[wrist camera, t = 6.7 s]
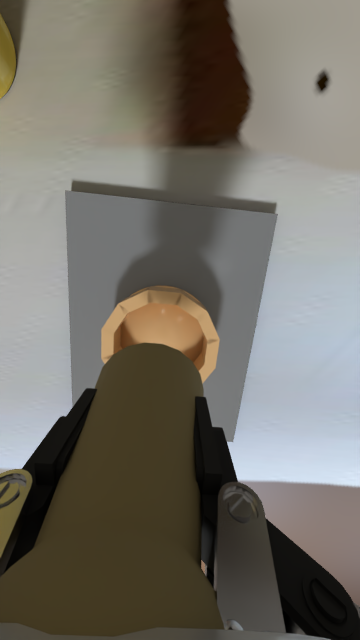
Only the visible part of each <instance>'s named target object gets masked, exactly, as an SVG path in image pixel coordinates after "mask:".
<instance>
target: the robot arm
mask: <svg viewBox="0 0 360 640" xmlns="http://www.w3.org/2000/svg"><path fill="white" fill-rule="evenodd" d="M96 391H97V389H94V388H86V389H85V390H84V392H83V393H82V395H81V396H80V398H79V399H78V400H77V402H76V403H75V405H74V406H73V408H72V409H71V410H70V412H69V413H68V415H67V416H66V417H65V416H62V417H60V418H59V419H58V420H57V422H56V423H55V424H54V426H53V427H52V428H51V430H50V431H49V433H48V434H47V435H46V437H45V438H44V439H43V441H42V442H41V443H40V445H39V446H38V448H37V449H36V450H35V452H34V453H33V454H32V456H31V457H30V458H29V460H28V461H27V462H26V464H25V465H24V467H23V468H22V469H14V470H9V471H6V472H4V473H1V474H0V577H1V576H2V575H3V574H4V573H5V572H6V571H7V570H8V569H9V568H10V567H11V566H12V565H13V564H15V563H16V562H17V561H18V560H20V559H21V558H22V557H23V556H25V555H26V554H27V553H28V552H30V551H31V550H32V549H33V548H34V545H35V542H36V540H37V537H38V534H39V532H40V529H41V527H42V524H43V521H44V519H45V516H46V514H47V511H48V508H49V506H50V503H51V501H52V498H53V495H54V493H55V490H56V487H57V485H58V482H59V480H60V477H61V475H62V474H63V472H64V470H65V467H66V465H67V463H68V460H69V458H70V456H71V454H72V451H73V449H74V447H75V444H76V442H77V440H78V438H79V435H80V433H81V431H82V428H83V426H84V424H85V421H86V418H87V415H88V412H89V409H90V406H91V403H92V400H93V398H94V396H95V393H96ZM195 403H196V412H195V421H194V448H195V466H196V481H197V483H198V486H199V490H200V494H201V511H202V544H201V560H202V561H203V562H204V563H205V576H206V577H207V579H208V580H209V582H210V583H211V585H212V587H213V588H214V590H215V591H216V598H217V606H218V609H219V612H220V615H221V618H222V621H223V624H224V629H225V630H219V629H192V628H164V627H157V628H152V629H147V630H143V631H138V632H133V633H129V634H124V635H119V636H115V637H107V636H76V635H50V634H47V633H45V632H42V631H39V630H36V629H33V628H30V627H27V626H24V625H21V624H18V623H0V640H360V607H359V606H358V605H356V604H355V603H353V601H352V599H351V597H350V596H349V595H348V593H347V592H346V590H345V589H344V588H343V586H342V585H341V584H340V583H339V582H338V581H337V580H336V579H335V578H334V577H333V576H332V575H331V574H330V573H329V572H328V571H326V570H325V569H324V568H322V566H321V565H319V564H318V563H317V562H316V561H315V560H313V559H312V558H311V557H310V556H309V555H308V554H307V553H306V552H304V551H303V550H302V549H301V548H300V547H299V546H297V545H296V544H295V543H294V542H293V541H292V540H290V539H289V538H288V537H287V536H286V535H285V534H283V533H282V532H281V531H280V530H279V529H278V528H276V527H275V526H274V525H273V524H272V523H271V522H269V521H268V520H267V519H266V518H265V512H264V508H263V505H262V502H261V500H260V499H259V497H258V495H257V494H256V493H255V492H254V491H253V490H252V489H251V488H249V487H248V486H247V485H244V484H242V483H240V482H238V481H237V477H236V473H235V470H234V466H233V463H232V459H231V455H230V452H229V448H228V445H227V441H226V437H225V434H224V431H223V428H222V427H212V422H211V418H210V413H209V409H208V404H207V399H206V397H200V396H196V397H195Z"/></svg>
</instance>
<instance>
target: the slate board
mask: <svg viewBox="0 0 360 640" xmlns="http://www.w3.org/2000/svg"><path fill="white" fill-rule="evenodd" d="M65 196H66V226H67V255H68V285H69V314H70V344H71V373H72V403H73V406H74V405H75V403H76V402H77V400H78V399H79V398H80V396H81V395H82V393H83V392H84V390H85V389H86V388H95V386H96V383H97V380H98V378H99V375H100V372H101V370H102V367H103V366H104V365H105V364H104V362H103V361H102V359H101V329H102V328H103V326H104V325H105V323H106V322H107V320H108V319H109V317H110V316H111V314H112V312H113V311H114V309H115V308H116V306H117V305H118V303H120V302H121V301H122V300H124V299H125V298H127V297H129V296H130V295H132V294H133V293H135V292H137V291H138V290H141V289H143V288H146V287H150V286H157V285H167V286H173V287H177V288H180V289H182V290H185V291H187V292H188V293H190V294H192V295H193V296H194V297H195V298H197V299H198V300H199V301H200V302H201V303H202V304H203V305H204V306H205V308H206V310H207V311H208V314H209V316H210V318H211V321H212V323H213V325H214V327H215V330H216V332H217V334H218V337H219V339H220V342H219V348H218V355H217V361H216V368H215V369H214V370H213V372H212V373H211V374H210V375H209V376H208V378H207V379H206V380H205V381H204V382H203V388H204V396H203V397H206V399H207V404H208V409H209V413H210V418H211V422H212V427H222V428H223V431H224V434H225V437H226V441H228V442H233V439H234V434H235V429H236V424H237V419H238V414H239V409H240V404H241V398H242V393H243V388H244V383H245V378H246V373H247V368H248V363H249V358H250V353H251V348H252V342H253V337H254V332H255V327H256V322H257V317H258V312H259V307H260V302H261V297H262V291H263V286H264V281H265V276H266V271H267V266H268V261H269V256H270V251H271V246H272V241H273V235H274V230H275V225H276V220H277V215H278V214H272V213H263V212H254V211H245V210H236V209H228V208H219V207H210V206H201V205H192V204H183V203H174V202H165V201H156V200H147V199H138V198H129V197H120V196H111V195H102V194H93V193H84V192H75V191H66V190H65Z"/></svg>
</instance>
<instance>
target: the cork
mask: <svg viewBox="0 0 360 640" xmlns="http://www.w3.org/2000/svg"><path fill="white" fill-rule="evenodd" d="M94 389H97V391H96V393H95V396H94V398H93V400H92V403H91V406H90V409H89V412H88V415H87V418H86V421H85V424H84V426H83V428H82V431H81V433H80V435H79V438H78V440H77V442H76V444H75V447H74V449H73V451H72V454H71V456H70V458H69V460H68V463H67V465H66V467H65V470H64V472H63V474H62V475H61V477H60V480H59V482H58V485H57V487H56V490H55V493H54V495H53V498H52V501H51V503H50V506H49V508H48V511H47V514H46V516H45V519H44V521H43V524H42V527H41V529H40V532H39V534H38V537H37V540H36V542H35V545H34V548H33V549H32V550H31V551H30V552H28V553H27V554H26V555H25V556H23V557H22V558H21V559H20V560H18V561H17V562H16V563H15V564H13V565H12V566H11V567H10V568H9V569H8V570H7V571H6V572H5V573H4V574H3V575H2V576H1V577H0V623H18V624H21V625H24V626H27V627H30V628H33V629H36V630H39V631H42V632H45V633H47V634H50V635H76V636H107V637H115V636H119V635H124V634H129V633H133V632H138V631H143V630H147V629H152V628H157V627H164V628H192V629H219V630H225V629H224V624H223V621H222V618H221V615H220V612H219V609H218V606H217V598H216V591H215V590H214V588H213V587H212V585H211V583H210V582H209V580H208V579H207V577H206V576H205V574H204V573H203V571H202V569H201V544H202V511H201V494H200V490H199V486H198V483H197V481H196V466H195V448H194V421H195V412H196V403H195V397H196V396H200V397H203V396H204V388H203V384H202V379H201V375H200V373H199V371H198V370H197V368H196V366H195V365H194V363H193V362H192V360H190V359H189V358H188V357H187V356H185V355H184V354H183V353H182V352H180V351H179V350H177V349H174V348H172V347H169V346H167V345H164V344H158V343H140V344H136V345H131V346H127V347H125V348H124V349H122V350H120V351H119V352H117V353H115V354H113V355H112V357H111V358H110V359H109V360H108V361H107V362H106V364H105V365H104V366H103V367H102V370H101V372H100V375H99V378H98V380H97V383H96V386H95V388H94Z"/></svg>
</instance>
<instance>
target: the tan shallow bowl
mask: <svg viewBox="0 0 360 640" xmlns="http://www.w3.org/2000/svg"><path fill="white" fill-rule="evenodd" d="M219 342H220V339H219V337H218V334H217V332H216V330H215V327H214V325H213V323H212V321H211V318H210V316H209V314H208V311H207V310H206V308H205V306H204V305H203V304H202V303H201V302H200V301H199V300H198V299H197V298H195V297H194V296H193V295H192V294H190V293H188V292H187V291H185V290H182V289H180V288H177V287H173V286H167V285H157V286H150V287H146V288H143V289H141V290H138V291H137V292H135V293H133V294H132V295H130V296H129V297H127V298H125V299H124V300H122V301H121V302H120V303H118V305H117V306H116V308H115V309H114V311H113V312H112V314H111V316H110V317H109V319H108V320H107V322H106V323H105V325H104V326H103V328H102V329H101V359H102V361H103V362H104V364H106V362H107V361H108V360H109V359H110V358H111V357H112V355H113V354H115V353H117V352H119V351H120V350H122V349H124V348H125V347H127V346H131V345H136V344H140V343H158V344H164V345H167V346H169V347H172V348H174V349H177V350H179V351H180V352H182V353H183V354H184V355H185V356H187V357H188V358H189V359H190V360H192V362H193V363H194V365H195V366H196V368H197V370H198V371H199V373H200V375H201V379H202V384H203V382H204V381H205V380H206V379H207V378H208V376H209V375H210V374H211V373H212V372H213V370H214V369H215V368H216V361H217V355H218V348H219Z"/></svg>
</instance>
